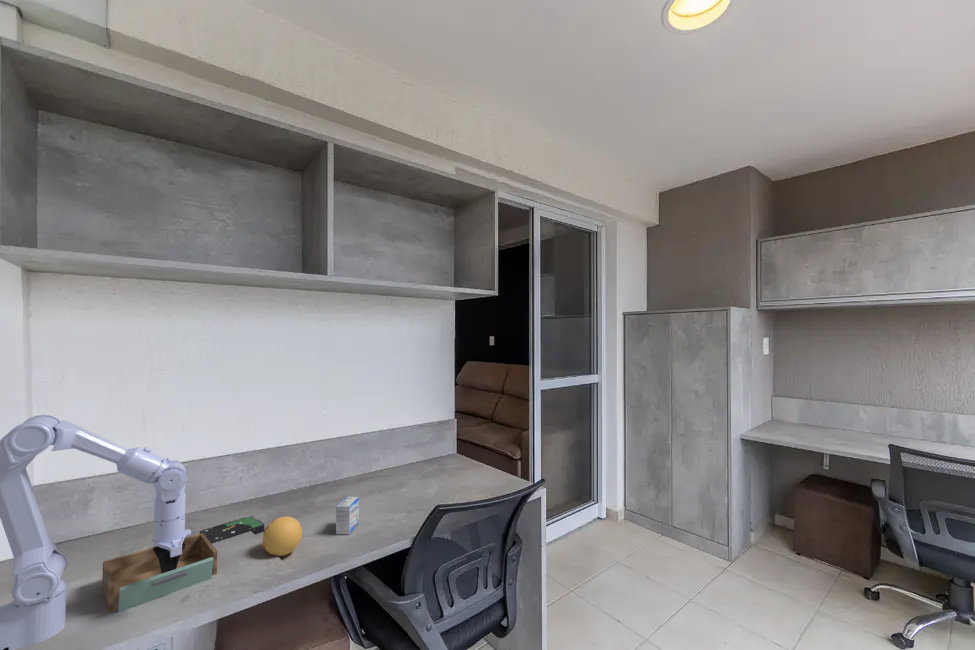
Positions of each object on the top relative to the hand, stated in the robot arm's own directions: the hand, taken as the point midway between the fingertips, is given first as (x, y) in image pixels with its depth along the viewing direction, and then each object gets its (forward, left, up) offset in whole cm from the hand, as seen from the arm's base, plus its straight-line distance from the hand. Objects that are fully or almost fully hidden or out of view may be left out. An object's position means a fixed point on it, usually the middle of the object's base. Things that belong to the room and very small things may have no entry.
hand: (168, 576), depth 95 cm
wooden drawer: (0, +8, -5) cm, 10 cm away
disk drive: (+20, +25, -6) cm, 33 cm away
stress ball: (+26, +2, -6) cm, 27 cm away
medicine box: (+46, +3, -6) cm, 46 cm away
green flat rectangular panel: (0, 0, -4) cm, 4 cm away
